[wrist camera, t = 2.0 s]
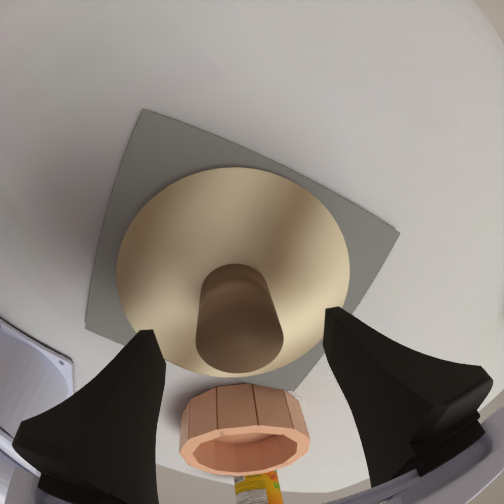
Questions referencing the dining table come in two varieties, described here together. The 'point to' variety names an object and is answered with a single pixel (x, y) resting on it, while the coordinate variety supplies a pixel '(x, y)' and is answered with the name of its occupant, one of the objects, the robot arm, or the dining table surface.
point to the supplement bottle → (258, 489)
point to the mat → (193, 161)
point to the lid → (232, 271)
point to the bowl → (242, 430)
